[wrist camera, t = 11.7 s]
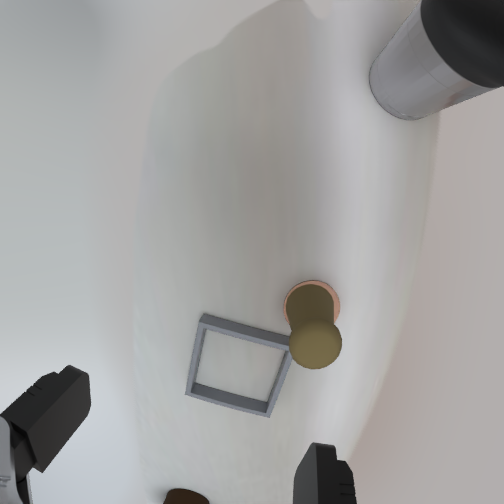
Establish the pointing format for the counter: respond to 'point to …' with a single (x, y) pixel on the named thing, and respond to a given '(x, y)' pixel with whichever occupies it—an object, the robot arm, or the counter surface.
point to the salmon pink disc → (324, 285)
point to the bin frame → (246, 334)
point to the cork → (312, 327)
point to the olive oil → (184, 497)
